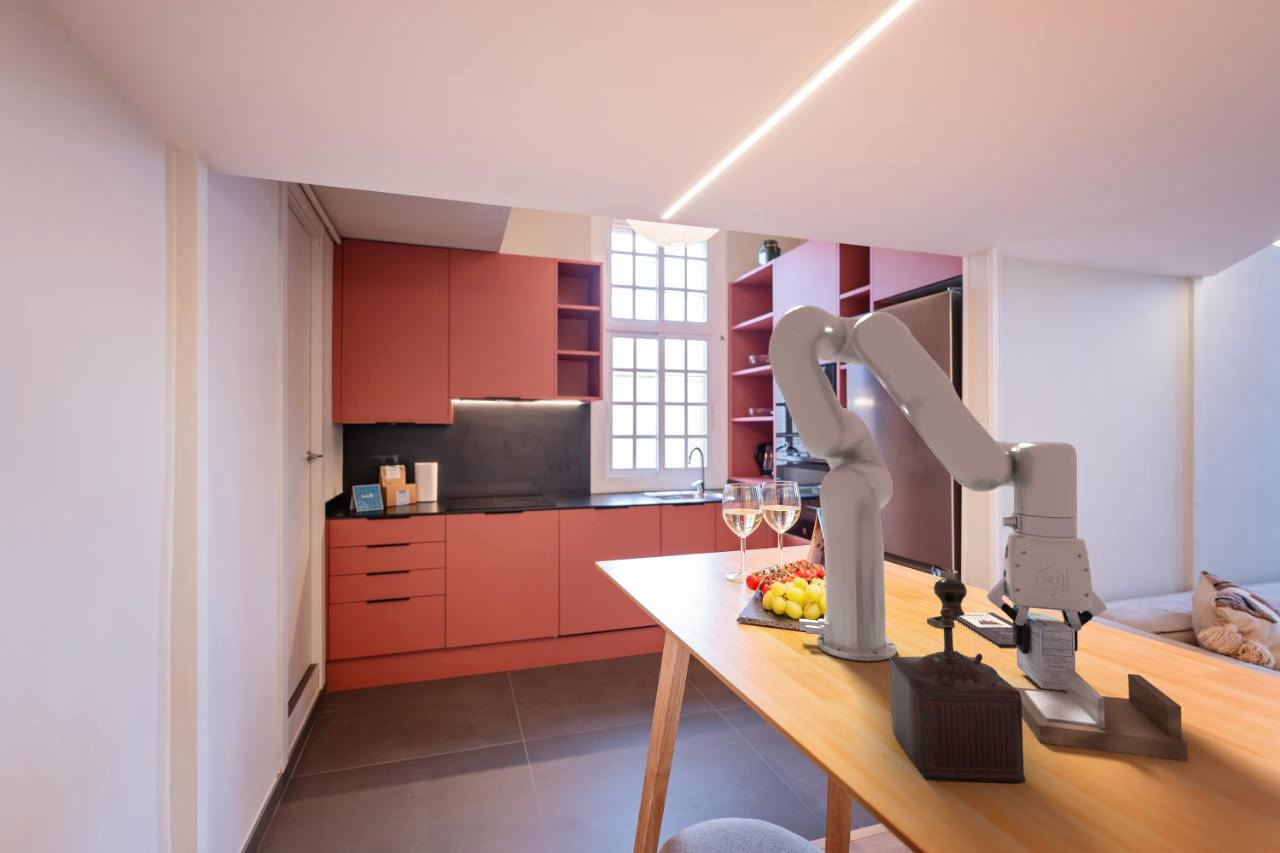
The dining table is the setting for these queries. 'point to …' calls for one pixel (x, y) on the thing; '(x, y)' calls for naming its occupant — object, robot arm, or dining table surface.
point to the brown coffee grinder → (956, 708)
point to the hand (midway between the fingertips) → (1044, 651)
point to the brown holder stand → (1107, 718)
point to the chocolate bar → (990, 627)
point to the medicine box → (1048, 651)
